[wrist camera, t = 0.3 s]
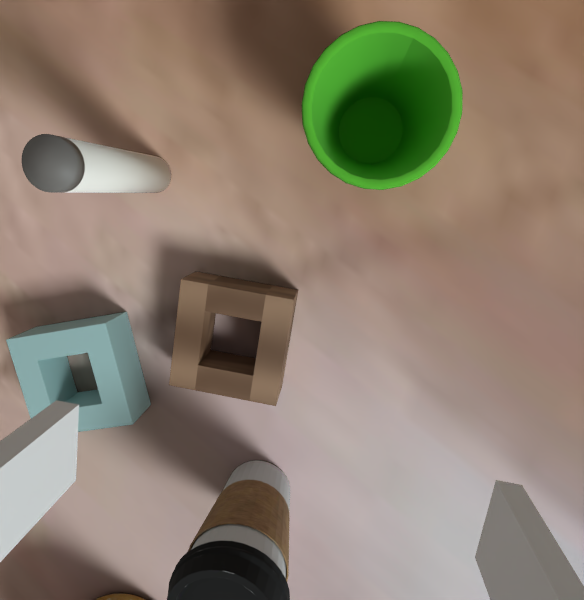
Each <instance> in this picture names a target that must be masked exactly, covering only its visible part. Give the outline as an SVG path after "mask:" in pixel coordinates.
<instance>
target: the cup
mask: <svg viewBox="0 0 584 600" xmlns="http://www.w3.org/2000/svg"><path fill="white" fill-rule="evenodd" d="M461 115H462V87H461V83H460V79H459V74H458V71H457V69H456V67H455V65H454V63H453V61H452V59H451V57H450V55H449V53H448V52H447V51H446V50H445V49H444V48H443V47H442V46H441V44H440V43H439V42H438V41H437V40H436V39H435V38H434V37H432V36H430V35H429V34H427V33H426V32H424V31H423V30H421V29H419V28H418V27H414V26H411V25H408V24H405V23H401V22H389V21H378V22H373V23H369V24H365V25H360V26H358V27H356V28H354V29H352V30H350V31H348V32H346V33H344V34H342V35H341V36H339V37H338V38H337V39H336V40H335V41H334V42H333V43H331V44H330V45H329V46H328V47H327V48H326V49H325V50H324V51H323V53H322V54H321V55H320V57H319V58H318V60H317V61H316V62H315V64H314V65H313V67H312V70H311V72H310V74H309V77H308V79H307V82H306V84H305V88H304V94H303V100H302V120H303V127H304V131H305V134H306V138H307V141H308V144H309V146H310V147H311V149H312V151H313V153H314V154H315V156H316V158H317V159H318V161H319V162H320V163H321V164H322V165H323V166H324V167H325V168H326V169H327V170H328V171H329V172H330V173H331V174H333V175H334V176H336V177H337V178H339V179H341V180H342V181H344V182H345V183H348V184H351V185H354V186H357V187H360V188H363V189H378V190H384V189H390V188H395V187H400V186H403V185H405V184H408V183H410V182H412V181H414V180H417V179H419V178H420V177H422V176H423V175H424V174H425V173H427V172H428V171H429V170H431V169H432V168H433V167H435V166H436V164H437V163H438V162H439V161H440V160H441V158H442V157H443V156H444V155H445V154H446V152H447V151H448V149H449V148H450V146H451V144H452V142H453V140H454V138H455V136H456V134H457V131H458V127H459V123H460V119H461Z"/></svg>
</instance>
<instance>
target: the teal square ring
mask: <svg viewBox="0 0 584 600" xmlns="http://www.w3.org/2000/svg"><path fill="white" fill-rule="evenodd" d="M6 341H7V344H8V347H9V351H10V354H11V357H12V360H13V363H14V366H15V370H16V373H17V376H18V379H19V382H20V386H21V389H22V392H23V395H24V398H25V402H26V405H27V408H28V411H29V414H30V417H31V418H33V417H34V416H35V415H37V414H38V413H40V412H41V411H42V410H44V409H45V408H46V407H48V406H49V405H50V404H52V403H53V402H55V401H56V400H57V401H63V402H68V403H74V404H79V418H78V432H80V431H88V430H95V429H103V428H110V427H117V426H125V425H132V424H134V423H135V422H136V420H137V419H138V418H139V417H140V416H141V415H142V414H143V413H144V412H145V411H146V409H147V408H148V407H149V406H150V405H151V403H150V399H149V395H148V392H147V388H146V384H145V380H144V376H143V372H142V369H141V365H140V361H139V357H138V353H137V349H136V345H135V342H134V338H133V334H132V330H131V326H130V322H129V319H128V315H127V312H121V313H116V314H110V315H104V316H98V317H92V318H86V319H80V320H74V321H68V322H62V323H56V324H50V325H45V326H39V327H34V328H32V329H30V330H27V331H25V332H23V333H21V334H18V335H16V336H14V337H11V338H9V339H7V340H6ZM82 353H88V355H89V359H90V362H91V366H92V369H93V373H94V377H95V380H96V384H97V387H98V389H97V390H91V391H84V392H77V390H76V386H75V383H74V379H73V376H72V372H71V369H70V366H69V362H68V359H67V356H70V355H76V354H82Z"/></svg>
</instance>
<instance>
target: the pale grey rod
mask: <svg viewBox="0 0 584 600" xmlns="http://www.w3.org/2000/svg"><path fill="white" fill-rule="evenodd" d="M22 167H23V171H24V173H25V175H26V177H27V179H28V180H29V181H30V182H31V184H32V185H34V186H35V187H36V188H38V189H40V190H42V191H45V192H86V193H158V192H162V191H163V190H165V189H166V188H167V187H168V186H169V184H170V181H171V169H170V167H169V165H168V163H167V162H166V161H165V160H164V159H162V158H160V157H158V156H153V155H148V154H143V153H138V152H134V151H129V150H124V149H119V148H114V147H109V146H104V145H99V144H94V143H89V142H84V141H80V140H75V139H70V138H65V137H60V136H55V135H50V134H41V135H38V136H35V137H33V138H32V139H31V140H30V141H29V142H28V143H27V144H26V146H25V148H24V150H23V153H22Z"/></svg>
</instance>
